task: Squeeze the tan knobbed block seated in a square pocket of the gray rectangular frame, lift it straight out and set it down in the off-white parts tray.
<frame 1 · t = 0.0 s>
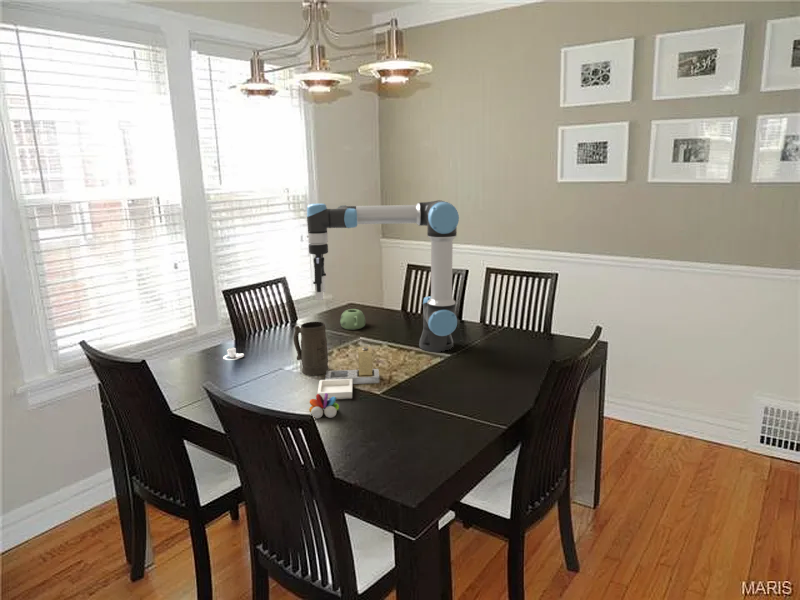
hand: (320, 295, 218), 28 cm above the table, tool pointing down, fingers open, 13 cm apart
white valve handwheel: (232, 360, 229), on the table
gray rectangular frame: (352, 379, 205), on the table
green dome pot: (353, 328, 271), on the table
beer stein: (310, 370, 215), on the table
parts tray: (335, 392, 194), on the table
rainbow petal fan toy: (324, 414, 177), on the table
tan knobbed block: (365, 379, 205), resting in gray rectangular frame
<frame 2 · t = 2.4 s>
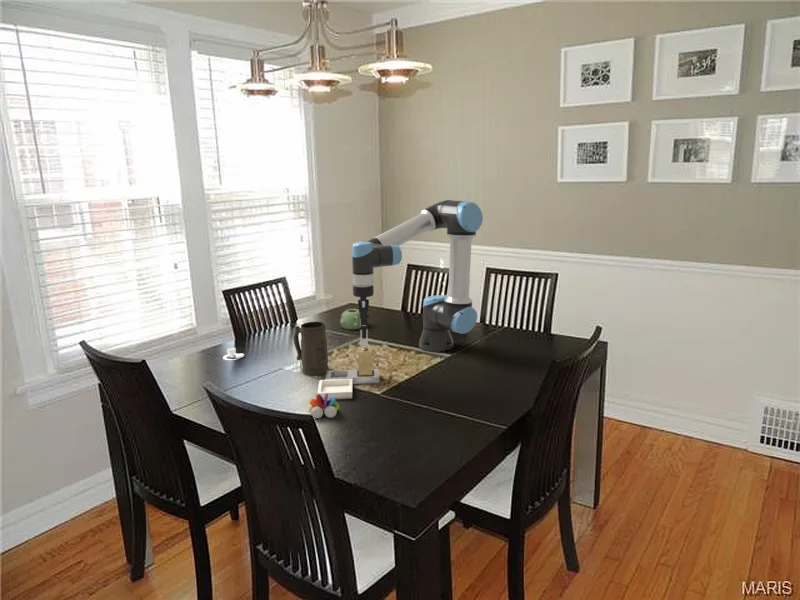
hand: (364, 340, 201), 16 cm above the table, tool pointing down, fingers open, 13 cm apart
nothing on the table moved.
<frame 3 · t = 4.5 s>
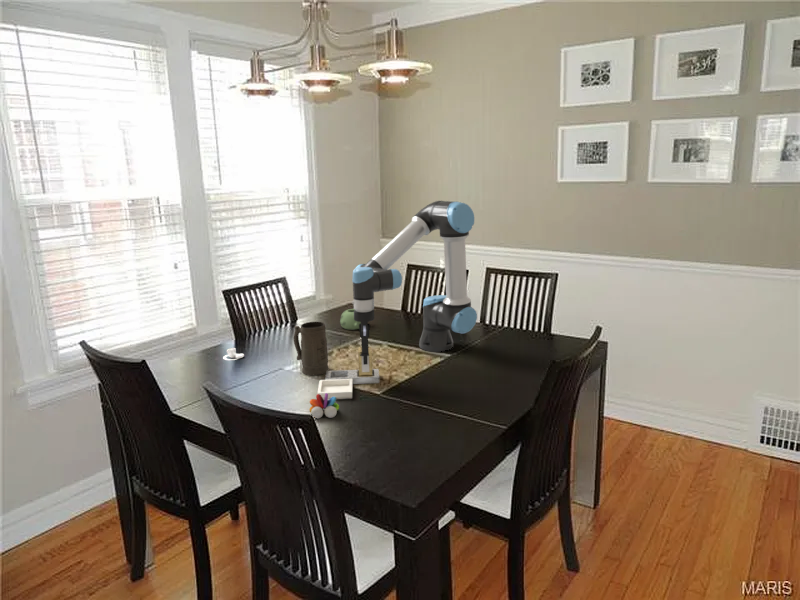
hand: (365, 368, 204), 4 cm above the table, tool pointing down, fingers closed on tan knobbed block, 5 cm apart
tan knobbed block: (365, 379, 205), resting in gray rectangular frame, touching gripper
everything else where it was.
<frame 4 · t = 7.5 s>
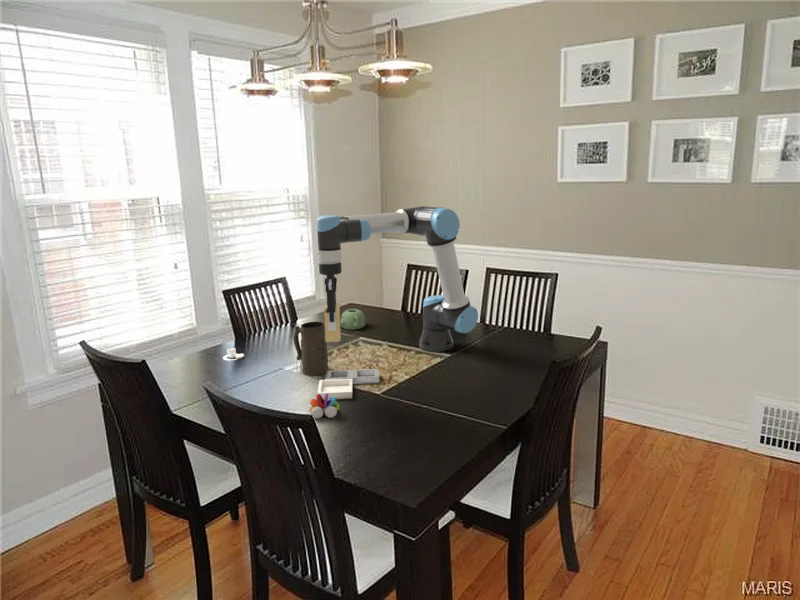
hand: (332, 327, 188), 24 cm above the table, tool pointing down, fingers closed on tan knobbed block, 5 cm apart
tan knobbed block: (333, 339, 189), point 20 cm above the table, touching gripper
everything else where it was.
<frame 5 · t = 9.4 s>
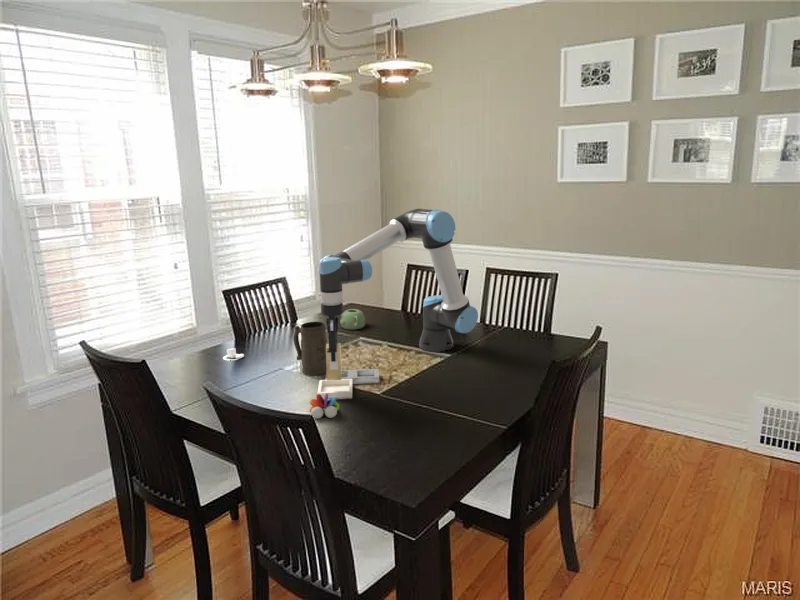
hand: (334, 366, 191), 10 cm above the table, tool pointing down, fingers closed on tan knobbed block, 5 cm apart
tan knobbed block: (334, 377, 192), point 6 cm above the table, touching gripper
everything else where it was.
when the fingers open (6 cm above the table, at t = 10.9 s): tan knobbed block stays where it is, resting on parts tray.
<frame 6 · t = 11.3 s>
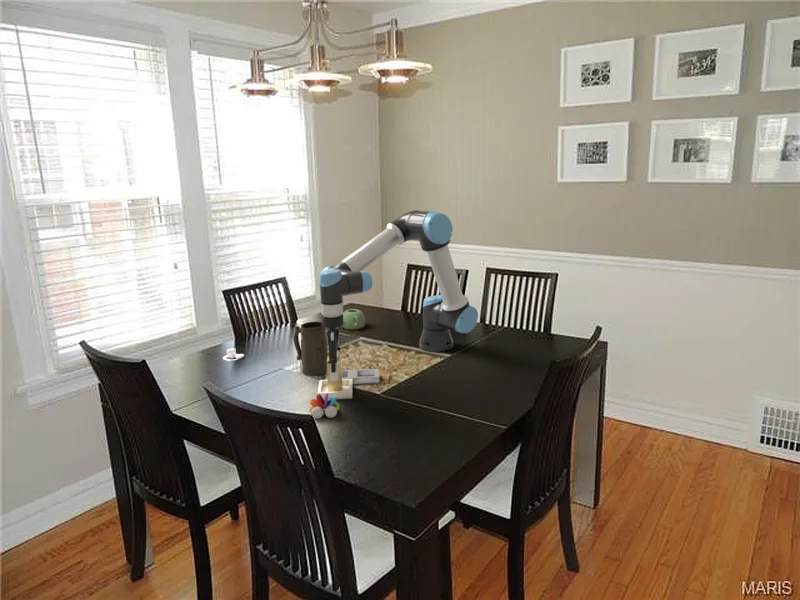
hand: (334, 374, 192), 7 cm above the table, tool pointing down, fingers open, 11 cm apart
tan knobbed block: (335, 390, 194), point 1 cm above the table, touching parts tray
everything else where it was.
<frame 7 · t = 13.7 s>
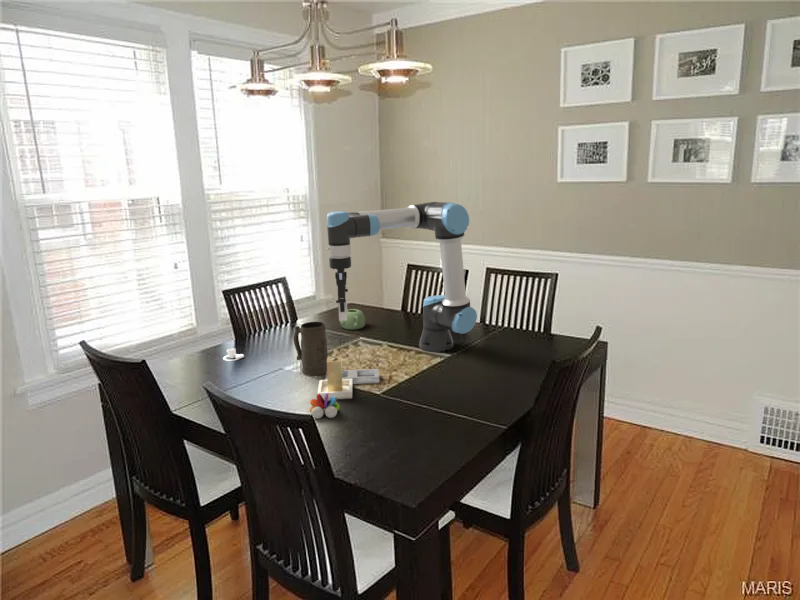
hand: (343, 315, 194), 27 cm above the table, tool pointing down, fingers open, 13 cm apart
nothing on the table moved.
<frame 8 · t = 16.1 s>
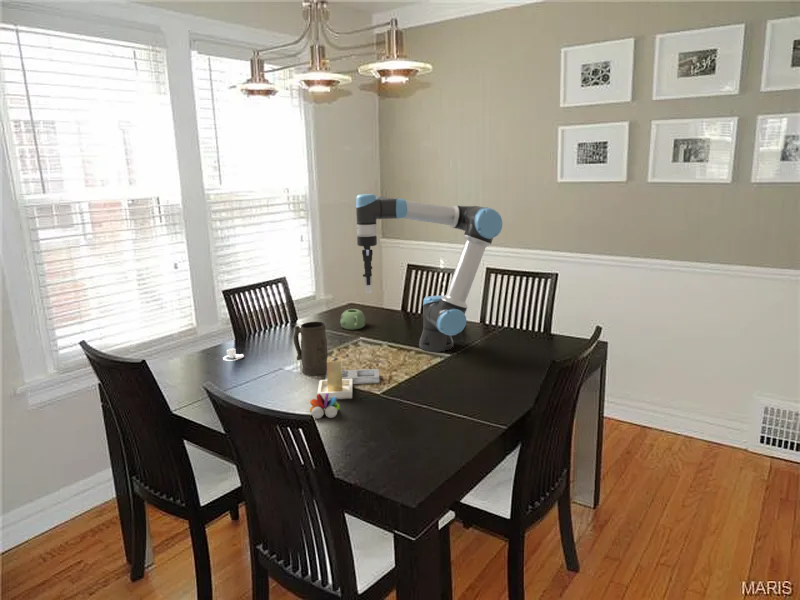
hand: (368, 289, 212), 32 cm above the table, tool pointing down, fingers open, 13 cm apart
nothing on the table moved.
at the end: tan knobbed block inside the target area on the parts tray (0.0 cm from its centre), point 0.6 cm above the parts tray's base; the gripper is holding nothing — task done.
